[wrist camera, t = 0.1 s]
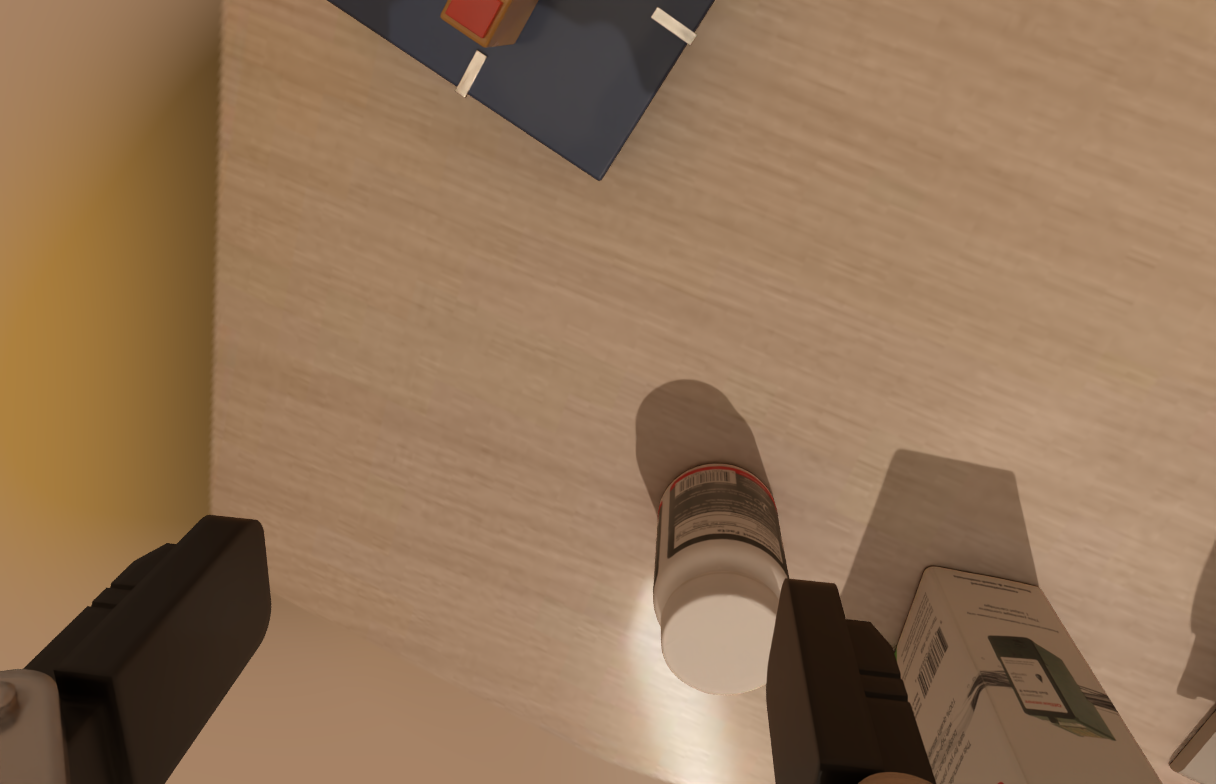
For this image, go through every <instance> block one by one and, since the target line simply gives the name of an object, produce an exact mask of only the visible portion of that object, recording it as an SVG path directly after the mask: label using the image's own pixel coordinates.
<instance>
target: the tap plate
mask: <svg viewBox="0 0 1216 784" xmlns="http://www.w3.org/2000/svg"><path fill="white" fill-rule="evenodd" d="M327 1H329V2H330V3H332V4H333V5H335V6H336V7H338V8H339V9H341V10H342V11H344V12H345V13H347V14H348V15H350V16H351V17H353V18H354V19H356V20H357V21H359V22H360V23H362V24H363V25H365V26H366V27H368V28H369V29H371V30H372V31H374V32H375V33H377V34H378V35H380V36H381V37H383V38H384V39H386V40H387V41H389V42H390V43H392V44H393V45H395V46H396V47H398V48H399V49H401V50H402V51H404V52H405V53H407V54H408V55H410V56H411V57H413V58H414V59H416V60H417V61H419V62H420V63H422V64H423V65H425V66H426V67H428V68H429V69H431V70H432V71H434V72H435V73H437V74H439V75H440V76H442V77H443V78H445V79H446V80H448V81H449V82H451V83H452V84H454V85H455V86H457V88H456V90H455V92H457V93H458V94H460V95H461V96H463V97H464V98H465V97H466V96H467V95H468V94H469V95H470V96H472V97H473V98H475V99H476V100H478V101H479V102H481V103H482V104H484V105H485V106H487V107H488V108H490V109H491V110H493V111H494V112H496V113H497V114H499V115H500V116H502V117H503V118H505V119H506V120H508V121H509V122H511V123H512V124H514V125H515V126H517V127H518V128H520V129H521V130H523V131H524V132H526V133H527V134H529V135H530V136H532V137H533V138H535V139H536V140H538V141H539V142H541V143H542V144H544V145H545V146H547V147H548V148H550V149H551V150H553V151H554V152H556V153H557V154H559V155H560V156H562V157H563V158H565V159H566V160H568V161H569V162H571V163H572V164H574V165H575V166H577V167H578V168H580V169H581V170H583V171H584V172H586V173H587V174H589V175H590V176H592V177H593V178H595V179H596V180H598V181H600V180H602V178H603V177H604V175H605V174H606V172H607V171H608V169H609V167H610V166H611V164H612V163H613V161H614V159H615V158H616V156H617V155H618V153H619V152H620V150H621V148H622V147H623V145H624V144H625V142H626V140H627V139H628V137H629V136H630V134H631V132H632V131H633V129H634V128H635V126H636V125H637V123H638V121H639V120H640V118H641V117H642V115H643V113H644V112H645V110H646V109H647V107H648V106H649V104H650V102H651V101H652V99H653V98H654V96H655V94H656V93H657V91H658V90H659V88H660V86H661V85H662V83H663V82H664V80H665V79H666V77H667V75H668V74H669V72H670V71H671V69H672V67H673V66H674V64H675V63H676V61H677V60H678V58H679V56H680V55H681V53H682V52H683V50H684V48H685V47H686V45H687V44H689V45H691V44H692V42H693V41H694V39H695V38H696V36H697V34H696V33H695V31H696V29H697V28H698V26H699V25H700V23H701V21H702V20H703V18H704V17H705V15H706V14H707V12H708V10H709V9H710V7H711V6H712V4H713V2H714V1H715V0H538V2H537V4H536V6H535V8H534V10H533V11H532V13H531V15H530V17H529V19H528V20H527V22H526V24H525V26H524V28H523V30H522V31H521V33H520V35H519V37H518V39H517V40H516V42H515V43H514V44H511V45H503V46H495V47H488V48H485V47H482V46H481V45H479V44H478V43H476V42H475V41H473V40H472V39H470V38H469V37H467V36H466V35H464V34H463V33H462V32H460V31H459V30H457V29H456V28H454V27H453V26H451V25H450V24H448V23H447V22H445V21H444V20H442V19H441V17H440V15H441V12H442V10H443V8H444V6H445V4H446V2H447V0H327Z"/></svg>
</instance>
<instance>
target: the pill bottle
mask: <svg viewBox="0 0 1216 784" xmlns="http://www.w3.org/2000/svg"><path fill="white" fill-rule="evenodd" d="M785 578H788V579H789V575H788V570H787V564H786V559H785V553H784V548H783V542H782V537H781V532H780V526H779V520H778V513H777V508H776V505H775V502H774V499H773V497H772V495H771V493H770V492H769V490H768V489H767V487H766V486H765V485H764V484H763V483H762V482H761V481H760V480H759V479H758V478H757V477H756V476H754V475H753V474H752V473H750V472H748V471H746V470H744V469H742V468H740V467H737V466H733V465H729V464H706V465H701V466H698V467H695V468H692V469H690V470H688V471H686V472H684V473H683V474H681V475H680V476H679V477H677V478H676V479H675V480H674V481H673V482H672V483H671V484H670V485H669V487H668V488H667V489H666V491H665V493H664V494H663V496H662V499H661V502H660V505H659V511H658V524H657V541H656V557H655V572H654V586H653V603H654V610H655V613H656V617H657V620H658V622H659V624H660V626H661V646H662V653H663V656H664V659H665V661H666V663H667V665H668V667H669V668H670V670H671V671H672V672H673V673H674V674H675V676H677V677H678V678H679V679H680V680H681V681H683V682H684V683H686V684H687V685H689V686H691V687H693V688H695V689H697V690H700V691H702V692H705V693H709V694H717V695H737V694H742V693H746V692H750V691H753V690H755V689H757V688H759V687H761V686H763V685H765V684H766V681H767V667H768V660H769V654H770V648H771V643H772V637H773V632H774V626H775V620H776V615H777V609H778V604H779V598H780V593H781V588H782V584H783V581H784V579H785Z"/></svg>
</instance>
